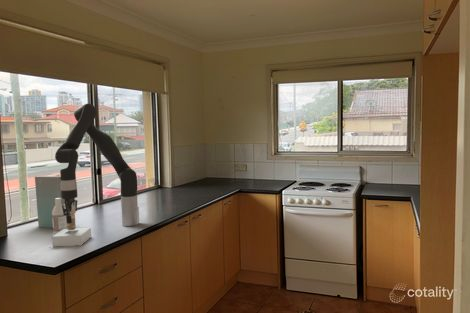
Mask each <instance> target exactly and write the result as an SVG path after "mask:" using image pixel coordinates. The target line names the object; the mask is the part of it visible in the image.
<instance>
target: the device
mask: <svg viewBox="0 0 470 313" xmlns="http://www.w3.org/2000/svg"><path fill="white" fill-rule="evenodd" d="M34 184H35V196H36V199H35V200H36V211H37V222H38V223H37V224H38V227H39V228H52V229H53V222H52V211H53V209H54V207H55V198H61V176H60V174H49V175H37V176H36V175H35V176H34ZM64 203H65V199H62V198H61V205H64ZM66 220H67V219H66Z"/></svg>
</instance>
